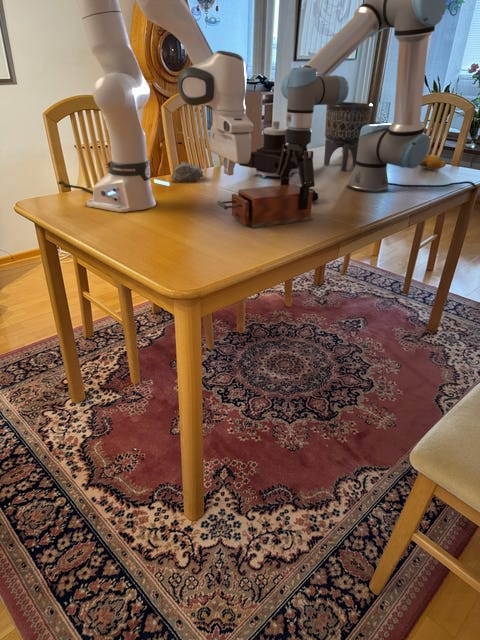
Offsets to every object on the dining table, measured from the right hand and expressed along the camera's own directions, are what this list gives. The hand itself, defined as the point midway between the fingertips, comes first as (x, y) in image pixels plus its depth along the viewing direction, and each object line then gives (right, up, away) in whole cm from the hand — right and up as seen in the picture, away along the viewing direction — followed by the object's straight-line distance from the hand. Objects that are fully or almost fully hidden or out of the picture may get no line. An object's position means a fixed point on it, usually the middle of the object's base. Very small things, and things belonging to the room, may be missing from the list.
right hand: (292, 204), depth 142 cm
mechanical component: (+1, +27, +54) cm, 61 cm away
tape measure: (+7, +5, +16) cm, 18 cm away
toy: (+72, +35, +70) cm, 107 cm away
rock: (-37, +20, +40) cm, 58 cm away
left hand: (-20, +5, -14) cm, 25 cm away
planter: (+31, +35, +68) cm, 83 cm away
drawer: (-11, -5, -3) cm, 13 cm away
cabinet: (-6, -5, -1) cm, 8 cm away
